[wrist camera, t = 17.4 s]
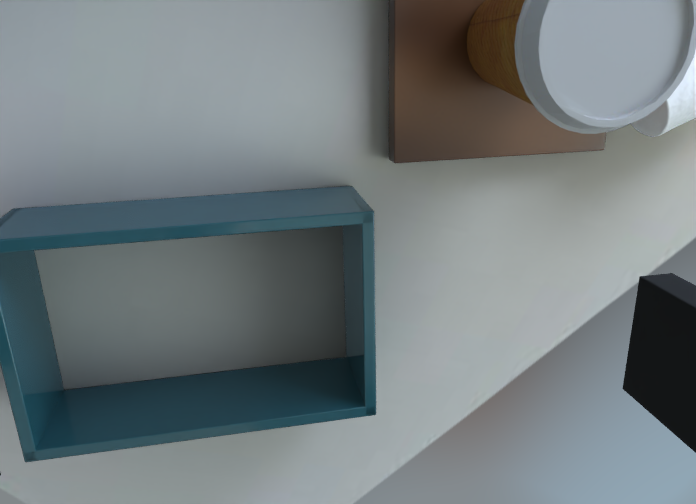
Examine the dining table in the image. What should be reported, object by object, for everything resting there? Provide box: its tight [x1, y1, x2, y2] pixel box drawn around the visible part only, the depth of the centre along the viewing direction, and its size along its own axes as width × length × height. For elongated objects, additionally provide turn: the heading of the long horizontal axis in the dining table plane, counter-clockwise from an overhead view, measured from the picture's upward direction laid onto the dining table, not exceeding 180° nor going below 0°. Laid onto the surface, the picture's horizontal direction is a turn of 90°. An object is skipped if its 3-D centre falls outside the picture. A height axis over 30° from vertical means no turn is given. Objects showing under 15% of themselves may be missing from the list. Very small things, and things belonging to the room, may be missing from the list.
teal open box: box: [0, 186, 376, 462], centre depth 40 cm, size 15×23×7 cm, turn 92°
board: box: [389, 0, 606, 163], centre depth 40 cm, size 16×16×2 cm
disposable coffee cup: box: [467, 0, 696, 134], centre depth 34 cm, size 10×10×12 cm
